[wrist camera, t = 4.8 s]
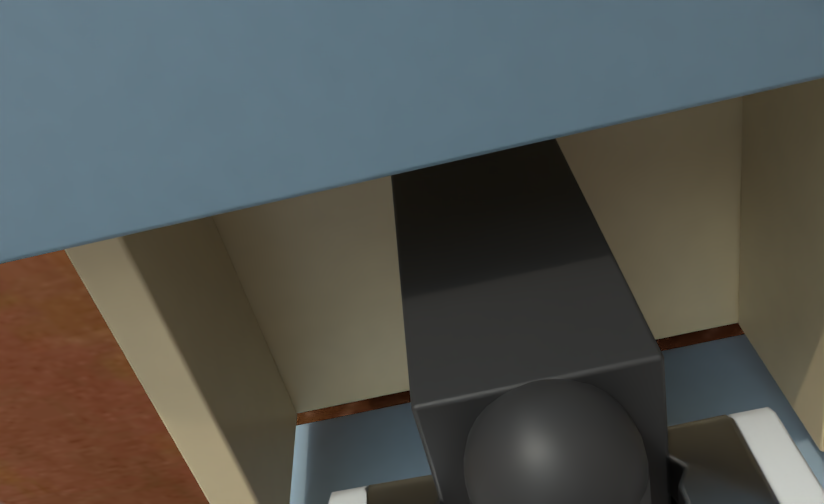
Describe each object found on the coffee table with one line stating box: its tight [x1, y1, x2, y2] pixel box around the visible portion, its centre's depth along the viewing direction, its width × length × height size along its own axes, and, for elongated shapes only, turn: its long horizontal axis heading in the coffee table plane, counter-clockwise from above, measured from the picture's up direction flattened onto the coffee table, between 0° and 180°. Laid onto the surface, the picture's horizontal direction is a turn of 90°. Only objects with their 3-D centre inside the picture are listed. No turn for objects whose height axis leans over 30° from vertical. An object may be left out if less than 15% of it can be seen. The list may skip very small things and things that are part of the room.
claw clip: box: [391, 138, 671, 504], centre depth 12 cm, size 5×3×7 cm, turn 12°
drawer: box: [64, 78, 824, 504], centre depth 14 cm, size 19×13×5 cm
